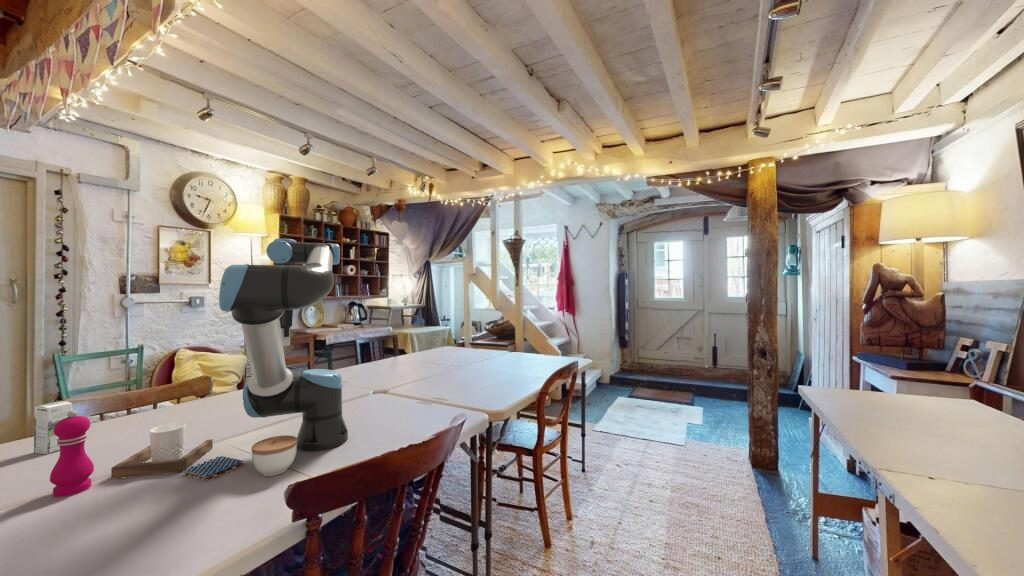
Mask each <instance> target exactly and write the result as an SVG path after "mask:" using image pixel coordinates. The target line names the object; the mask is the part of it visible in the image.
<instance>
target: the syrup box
mask: <svg viewBox="0 0 1024 576" xmlns="http://www.w3.org/2000/svg"><path fill="white" fill-rule="evenodd" d="M72 410H73V403H72V402H69V401H66V400H65V401H64V400H63V401H62V400H61V401H59V400H58V401H54V402H50V403H45V404H40V405H37V406H34V415H33V416H34V418H33V419H34V421H33V425H34V426H33V429H34V431H33V435H34V436H33V453H34V454H41V455H42V454H43V455H49V454H52V453H56V452H60V446H58V445H57V439H59V437H57V436H56V435H55V434H54V427H55V425H56V424H57V423H58V422H59V421H60V420H62V419H65V418H67V413H68V412H69V411H72Z"/></svg>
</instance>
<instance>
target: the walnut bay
mask: <svg viewBox="0 0 1024 576" xmlns="http://www.w3.org/2000/svg"><path fill="white" fill-rule="evenodd" d="M213 441H214V440H213V439H211V438H210V439H205V440H204V441H203V442H202V443H200V444H199V445H197V446H196V447H195V448H194V449H192V450H191V451H188V452H187V453H186V454H184V456H183V457H182V458H181V459H177V460H166V461H155V462H152V461H148V459H149V458H150V459H152V458H151V457H152V455H151V446H150V445H148V446H147V447H145V448H143V449H141V450H139V451H138V452H136V453H135V454H133V455H131V456H129V457H128V458H126V459H124V460H122V461H120V462H119V463H117V464H116V465H114V466H112V467H111V472H110V473H111V474H110V475H111V479H112V478H117V479H123V478H122V477H127V478H132V477H131V476H137V477H144V476H143V475H147V476H155V475H156V474H157V475H164V474H165V473H167V474H173V473H174V474H175V473H184V472H185V471H184V469H187V470H188V469H189V468H191V467H192V465H194V464H195V463H196V462H198V461H199V460H200V459H202V458H203V457H205V455H207V454H208V453H209V452H211V451H212V450H213V449H212V448H213V447H214V445H213ZM211 449H212V450H211ZM210 450H211V451H210ZM207 452H208V453H207ZM206 453H207V454H206ZM202 456H203V457H202ZM150 459H149V460H150ZM146 460H147V461H146ZM197 460H198V461H197ZM143 462H144V463H143ZM193 463H194V464H193ZM129 476H130V477H129ZM112 480H113V479H112Z"/></svg>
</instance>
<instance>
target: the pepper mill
mask: <svg viewBox="0 0 1024 576" xmlns="http://www.w3.org/2000/svg"><path fill="white" fill-rule="evenodd" d="M78 413H79V412H78V411H77V410H74V409H72V411H69V412H68V413H67V418H65V419H62V420H60V421H59V422H58V423H57V424H56V425H55V427H54V434H55V435H56V436H57V437H59V439H57V445H58V446H60V451H59V457H58V459H57V461H56V463H55V464H54V467H52V470H51V473H50V475H49V482H50V483H51V484H53V485H54V487H53V488H52V497H54V498H64V497H70V496H74V495H77V494H80V493H83V492H85V491H87V490H88V489H90V488H91V486H92V478H90V476H91V475H92V474H93V473H94V471H95V468H94V467H95V465H94V462H93V461H92V460H91V458H90V457H89V455H88V454H87V453H86V450H85V444H86V443H85V442H86V440H88V433H86V432H88V430H89V429H90V427H91V421H90V419H89V418H88V417H87V416H83V415H78ZM89 487H90V488H89ZM86 489H87V490H86ZM84 490H85V491H84ZM82 491H83V492H82ZM73 494H74V495H73ZM69 495H70V496H69Z"/></svg>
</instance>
